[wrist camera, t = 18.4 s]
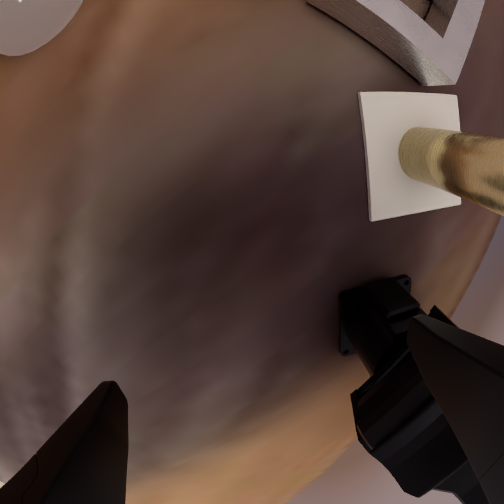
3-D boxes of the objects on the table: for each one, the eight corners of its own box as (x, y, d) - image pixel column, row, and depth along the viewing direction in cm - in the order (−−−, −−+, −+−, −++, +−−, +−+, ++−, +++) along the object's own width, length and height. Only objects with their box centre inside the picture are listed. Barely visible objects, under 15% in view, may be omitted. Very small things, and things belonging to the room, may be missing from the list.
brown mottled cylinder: (440, 177, 20) (541, 217, 11) (399, 183, 20) (504, 229, 11) (437, 126, 19) (545, 144, 9) (395, 127, 18) (508, 144, 9)
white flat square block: (457, 203, 22) (460, 204, 21) (368, 220, 21) (371, 221, 21) (453, 95, 18) (456, 95, 18) (357, 92, 18) (359, 92, 17)
